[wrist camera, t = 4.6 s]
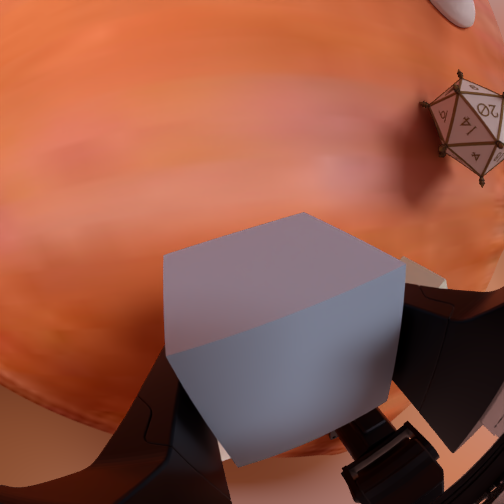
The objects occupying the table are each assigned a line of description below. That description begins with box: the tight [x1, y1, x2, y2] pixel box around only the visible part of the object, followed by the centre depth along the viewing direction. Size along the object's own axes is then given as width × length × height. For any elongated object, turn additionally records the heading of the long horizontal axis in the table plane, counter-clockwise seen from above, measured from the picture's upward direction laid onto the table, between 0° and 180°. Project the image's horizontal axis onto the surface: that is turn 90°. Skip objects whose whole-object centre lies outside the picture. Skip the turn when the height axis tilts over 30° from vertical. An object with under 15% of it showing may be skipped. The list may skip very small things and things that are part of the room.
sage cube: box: [400, 256, 448, 289], centre depth 20 cm, size 5×5×5 cm
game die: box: [419, 69, 504, 188], centre depth 15 cm, size 9×8×10 cm
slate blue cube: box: [163, 212, 406, 467], centre depth 8 cm, size 5×5×5 cm
